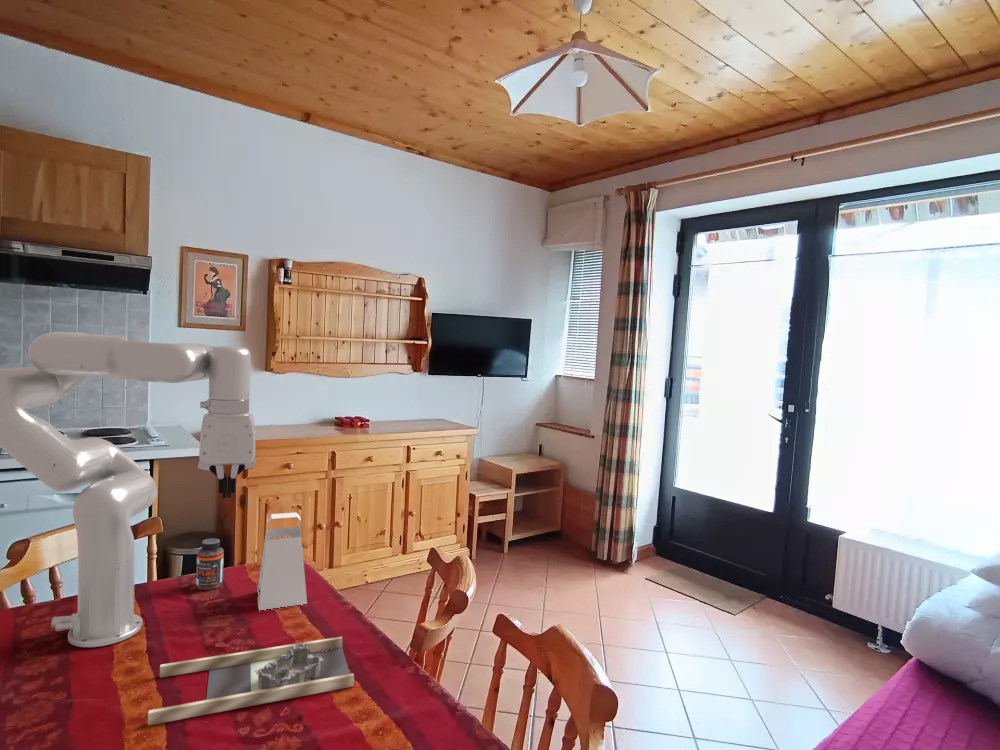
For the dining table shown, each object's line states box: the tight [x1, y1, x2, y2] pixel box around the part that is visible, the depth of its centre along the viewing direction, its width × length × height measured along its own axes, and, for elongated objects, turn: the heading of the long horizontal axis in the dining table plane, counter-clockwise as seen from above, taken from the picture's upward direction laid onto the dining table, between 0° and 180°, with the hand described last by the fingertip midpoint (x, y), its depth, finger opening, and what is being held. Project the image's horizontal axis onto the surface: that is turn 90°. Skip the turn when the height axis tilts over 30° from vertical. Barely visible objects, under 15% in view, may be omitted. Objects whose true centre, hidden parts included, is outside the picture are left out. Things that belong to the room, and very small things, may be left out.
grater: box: [256, 512, 308, 612], centre depth 137 cm, size 10×10×20 cm
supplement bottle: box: [195, 538, 225, 591], centre depth 142 cm, size 6×6×11 cm
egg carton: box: [255, 641, 323, 689], centre depth 105 cm, size 11×8×4 cm
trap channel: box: [147, 636, 355, 726], centre depth 105 cm, size 32×15×2 cm, turn 114°
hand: (226, 496), depth 118 cm, fingers closed
